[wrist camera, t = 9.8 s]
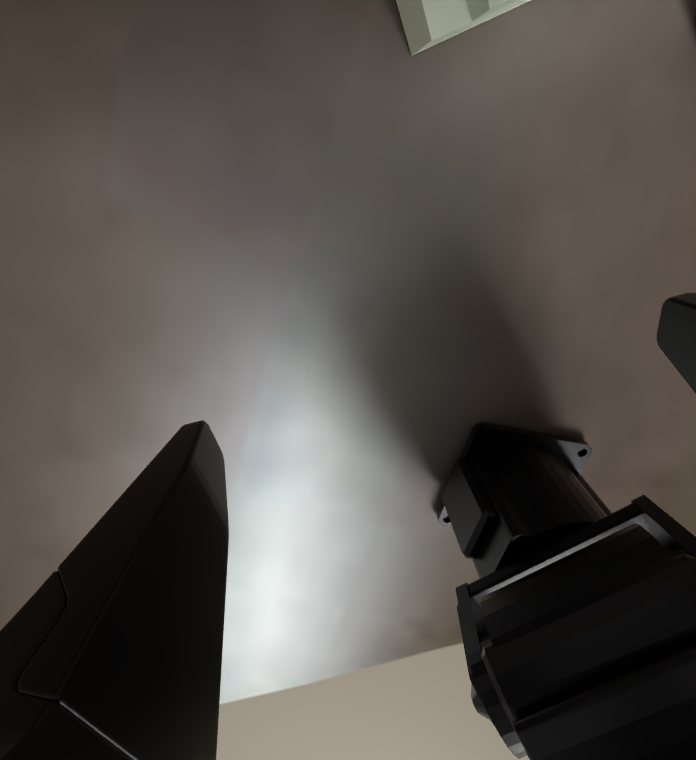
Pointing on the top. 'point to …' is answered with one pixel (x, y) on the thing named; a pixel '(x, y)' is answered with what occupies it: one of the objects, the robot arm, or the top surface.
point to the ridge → (446, 18)
